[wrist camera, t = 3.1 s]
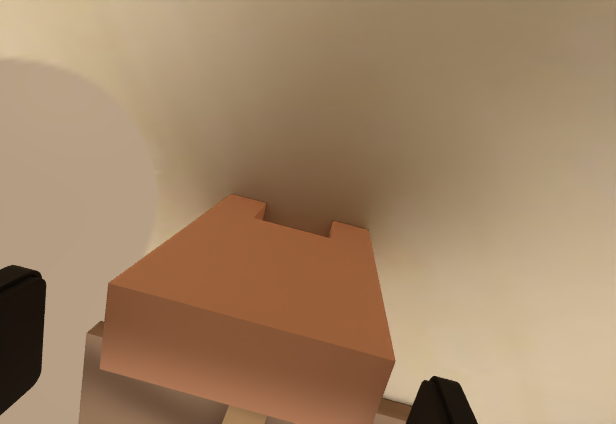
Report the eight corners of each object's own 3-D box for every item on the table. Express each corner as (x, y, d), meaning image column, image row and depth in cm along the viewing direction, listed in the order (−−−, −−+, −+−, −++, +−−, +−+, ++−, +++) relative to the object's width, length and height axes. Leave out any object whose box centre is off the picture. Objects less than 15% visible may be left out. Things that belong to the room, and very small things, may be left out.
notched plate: (231, 193, 18) (108, 283, 9) (368, 229, 18) (395, 361, 9) (222, 239, 19) (99, 368, 9) (354, 274, 19) (365, 442, 9)
